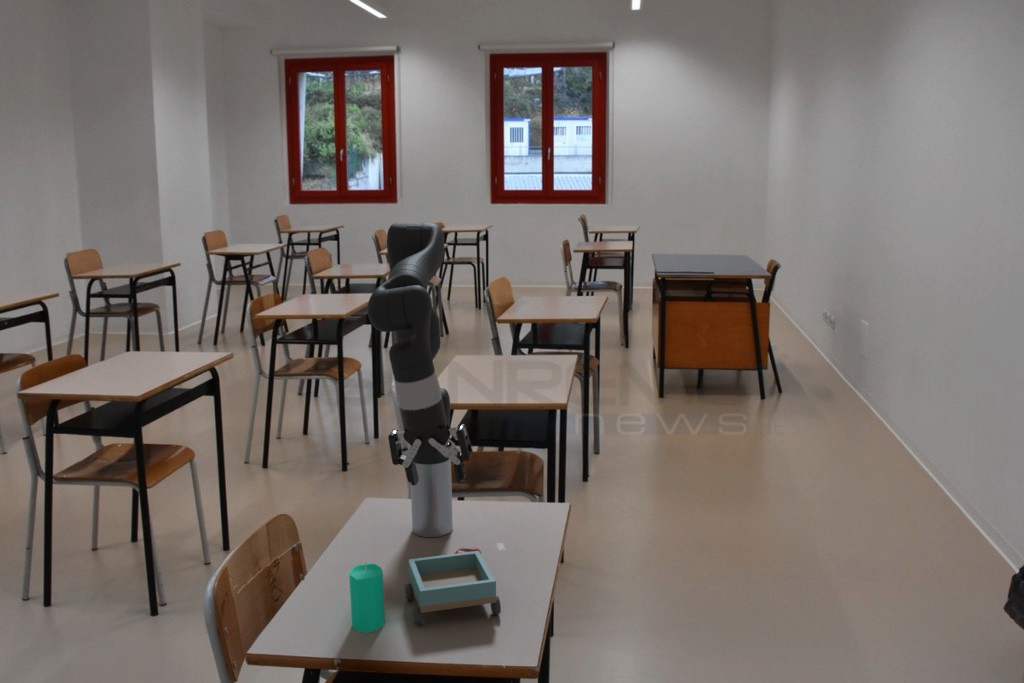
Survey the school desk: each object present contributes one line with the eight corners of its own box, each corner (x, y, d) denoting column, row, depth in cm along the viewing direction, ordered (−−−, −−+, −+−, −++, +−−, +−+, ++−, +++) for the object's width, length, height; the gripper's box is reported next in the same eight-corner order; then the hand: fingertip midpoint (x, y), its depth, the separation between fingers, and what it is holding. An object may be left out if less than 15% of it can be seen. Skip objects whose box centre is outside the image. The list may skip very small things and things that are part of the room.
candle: (363, 614, 177) (360, 554, 175) (391, 619, 175) (388, 559, 172) (345, 629, 172) (342, 567, 169) (374, 634, 169) (371, 572, 167)
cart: (405, 595, 184) (403, 560, 182) (484, 585, 188) (483, 550, 186) (416, 629, 171) (415, 591, 169) (501, 617, 174) (500, 580, 173)
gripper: (464, 387, 164) (481, 469, 169) (388, 393, 167) (406, 473, 172) (453, 405, 157) (471, 490, 162) (374, 411, 160) (393, 494, 166)
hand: (437, 482), depth 167 cm, fingers open, 8 cm apart
